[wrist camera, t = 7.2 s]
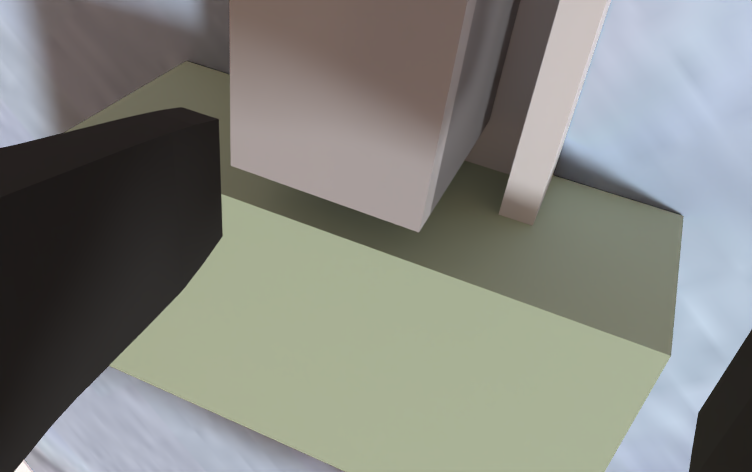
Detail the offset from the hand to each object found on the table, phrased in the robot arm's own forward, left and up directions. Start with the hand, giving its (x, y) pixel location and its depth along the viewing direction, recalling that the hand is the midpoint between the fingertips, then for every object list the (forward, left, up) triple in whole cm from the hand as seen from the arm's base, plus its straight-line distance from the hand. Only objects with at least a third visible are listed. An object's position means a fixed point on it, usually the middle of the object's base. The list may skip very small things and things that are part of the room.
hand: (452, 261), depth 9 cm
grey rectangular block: (+2, +3, -8) cm, 9 cm away
